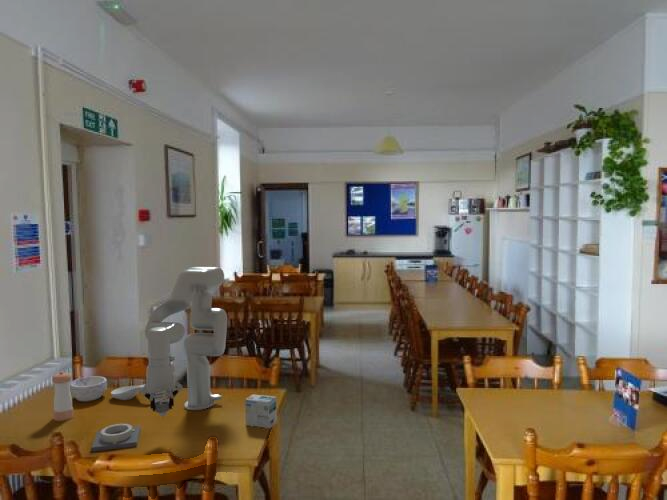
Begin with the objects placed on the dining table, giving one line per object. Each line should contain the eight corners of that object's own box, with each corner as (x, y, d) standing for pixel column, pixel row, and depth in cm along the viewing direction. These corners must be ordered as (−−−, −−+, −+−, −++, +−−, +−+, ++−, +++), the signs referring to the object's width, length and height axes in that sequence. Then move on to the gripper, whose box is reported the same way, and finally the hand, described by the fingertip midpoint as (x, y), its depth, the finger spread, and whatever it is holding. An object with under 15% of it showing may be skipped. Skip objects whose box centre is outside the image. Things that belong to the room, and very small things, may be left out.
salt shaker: (77, 415, 216) (75, 370, 214) (61, 422, 209) (59, 375, 208) (65, 413, 219) (63, 368, 217) (49, 419, 212) (47, 373, 211)
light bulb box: (277, 422, 206) (277, 396, 205) (270, 429, 199) (269, 401, 199) (253, 419, 209) (252, 393, 209) (245, 426, 203) (244, 399, 202)
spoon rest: (105, 400, 233) (104, 385, 233) (124, 392, 244) (124, 377, 244) (146, 407, 224) (146, 391, 224) (165, 398, 235) (164, 383, 235)
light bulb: (157, 413, 195) (155, 382, 194) (172, 412, 195) (170, 381, 194) (153, 420, 189) (151, 388, 188) (169, 419, 190) (167, 387, 188)
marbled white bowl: (98, 404, 229) (97, 386, 228) (63, 404, 229) (62, 386, 228) (113, 392, 244) (112, 375, 243) (81, 392, 244) (80, 375, 244)
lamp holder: (140, 429, 201) (140, 419, 200) (136, 446, 186) (136, 435, 186) (98, 434, 197) (97, 424, 196) (91, 451, 182) (90, 440, 182)
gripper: (184, 355, 196) (186, 402, 198) (135, 360, 191) (138, 408, 193) (184, 362, 189) (186, 410, 191) (133, 367, 184) (137, 416, 186)
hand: (162, 408), depth 192 cm, fingers closed on light bulb, 5 cm apart
